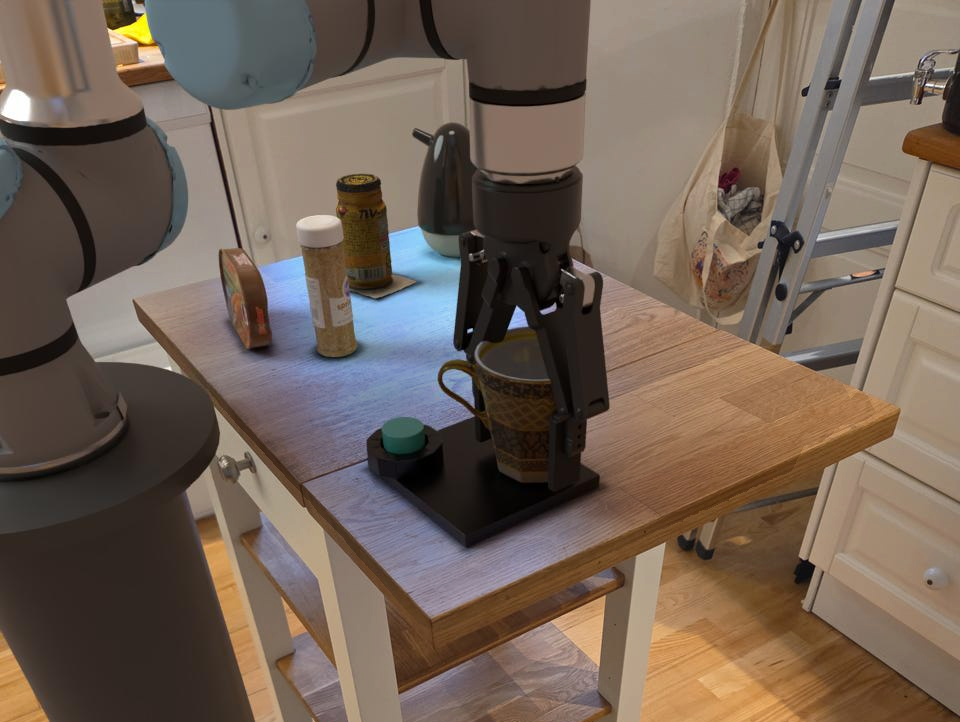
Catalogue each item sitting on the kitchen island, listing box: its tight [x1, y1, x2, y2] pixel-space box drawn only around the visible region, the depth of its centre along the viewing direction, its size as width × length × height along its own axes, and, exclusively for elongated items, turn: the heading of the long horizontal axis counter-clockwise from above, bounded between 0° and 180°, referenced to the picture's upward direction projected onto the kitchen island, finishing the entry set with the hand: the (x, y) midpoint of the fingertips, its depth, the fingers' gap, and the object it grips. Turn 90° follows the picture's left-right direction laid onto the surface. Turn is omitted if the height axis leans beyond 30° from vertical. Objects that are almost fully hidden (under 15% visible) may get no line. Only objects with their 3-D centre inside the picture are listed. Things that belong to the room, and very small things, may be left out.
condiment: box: [335, 173, 418, 299], centre depth 106 cm, size 7×8×12 cm
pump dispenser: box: [411, 121, 478, 258], centre depth 113 cm, size 10×10×15 cm
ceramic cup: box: [437, 325, 572, 483], centre depth 72 cm, size 13×10×10 cm
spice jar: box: [295, 214, 358, 358], centre depth 92 cm, size 5×5×14 cm
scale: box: [365, 415, 601, 548], centre depth 76 cm, size 16×15×3 cm
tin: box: [218, 247, 273, 350], centre depth 98 cm, size 15×3×8 cm, turn 23°
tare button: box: [381, 416, 425, 454], centre depth 75 cm, size 4×4×2 cm
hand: (525, 459), depth 74 cm, fingers closed on ceramic cup, 9 cm apart
